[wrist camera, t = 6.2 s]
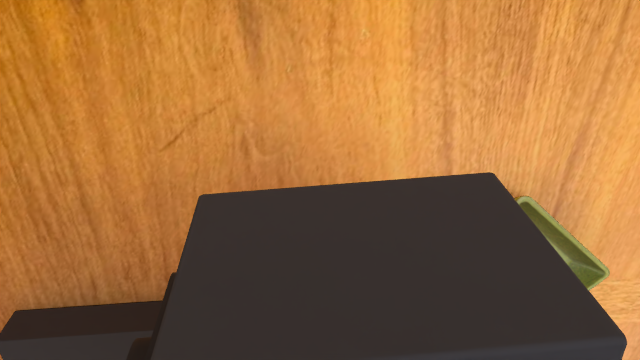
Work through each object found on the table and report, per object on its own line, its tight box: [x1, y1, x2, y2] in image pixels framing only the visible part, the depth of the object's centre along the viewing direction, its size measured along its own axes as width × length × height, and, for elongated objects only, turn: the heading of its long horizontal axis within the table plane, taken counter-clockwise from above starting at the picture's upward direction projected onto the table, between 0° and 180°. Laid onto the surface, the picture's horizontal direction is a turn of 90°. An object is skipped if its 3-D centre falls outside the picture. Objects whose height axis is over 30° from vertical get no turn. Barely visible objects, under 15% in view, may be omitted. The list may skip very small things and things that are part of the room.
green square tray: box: [514, 196, 610, 291], centre depth 30 cm, size 9×9×2 cm
